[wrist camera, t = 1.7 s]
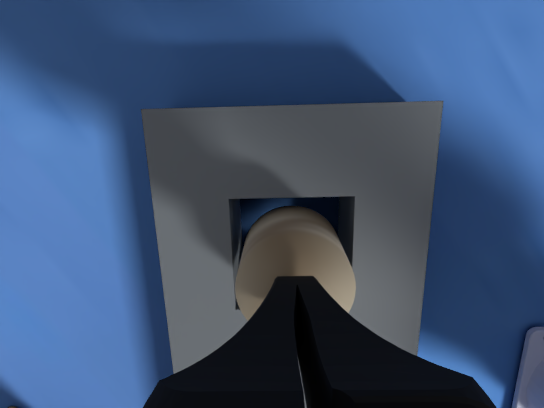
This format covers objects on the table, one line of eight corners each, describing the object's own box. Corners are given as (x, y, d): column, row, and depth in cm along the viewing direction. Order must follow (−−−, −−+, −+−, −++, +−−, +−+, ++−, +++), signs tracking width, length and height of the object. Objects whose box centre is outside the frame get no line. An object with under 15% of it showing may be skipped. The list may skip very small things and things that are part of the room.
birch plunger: (340, 204, 15) (358, 232, 12) (338, 293, 17) (353, 341, 13) (241, 206, 16) (231, 234, 12) (246, 294, 17) (238, 342, 13)
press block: (407, 101, 18) (443, 101, 14) (377, 485, 25) (396, 556, 21) (170, 108, 18) (141, 109, 14) (209, 485, 25) (196, 555, 21)
